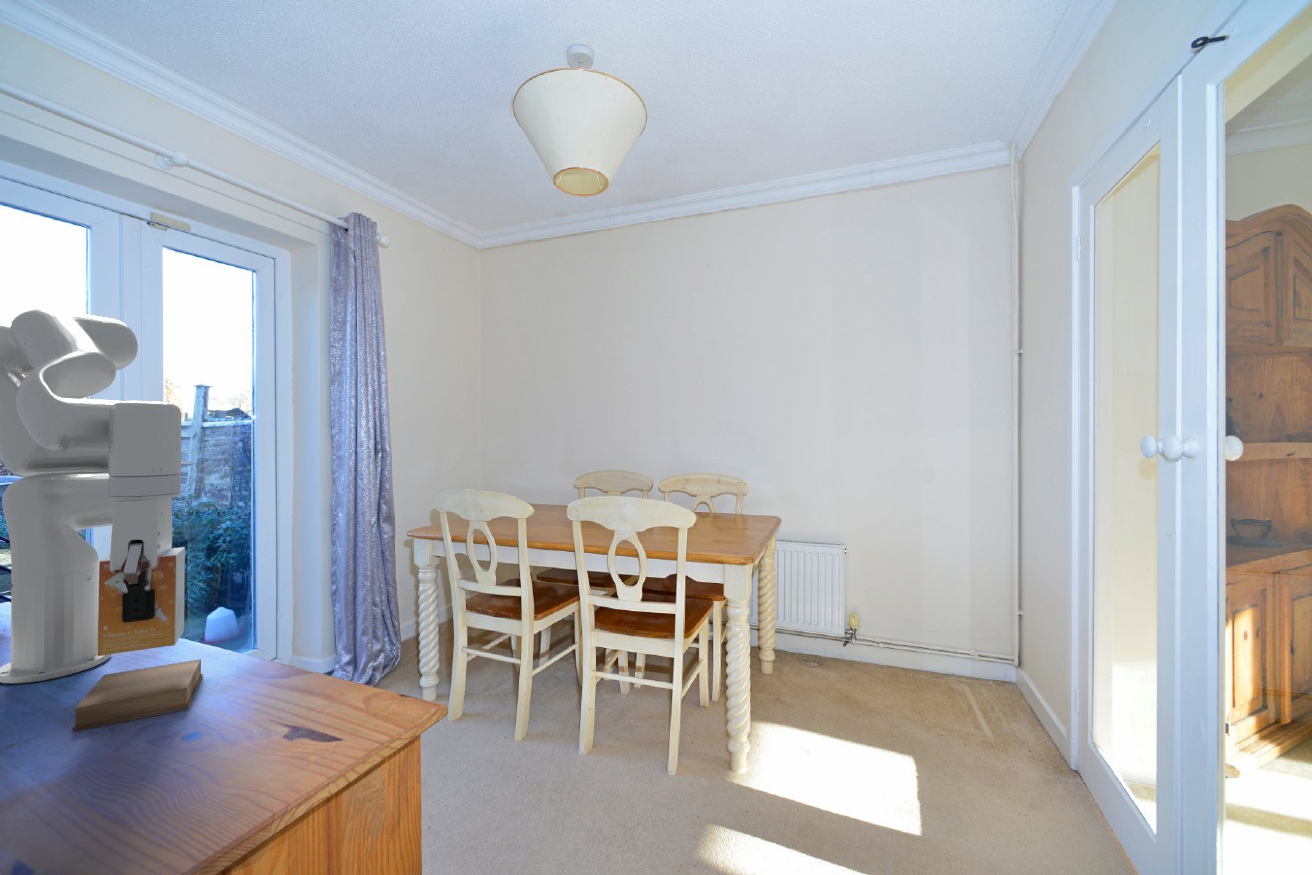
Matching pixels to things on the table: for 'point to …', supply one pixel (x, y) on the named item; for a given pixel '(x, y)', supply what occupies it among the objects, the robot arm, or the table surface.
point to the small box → (146, 632)
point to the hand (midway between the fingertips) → (145, 611)
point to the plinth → (139, 694)
